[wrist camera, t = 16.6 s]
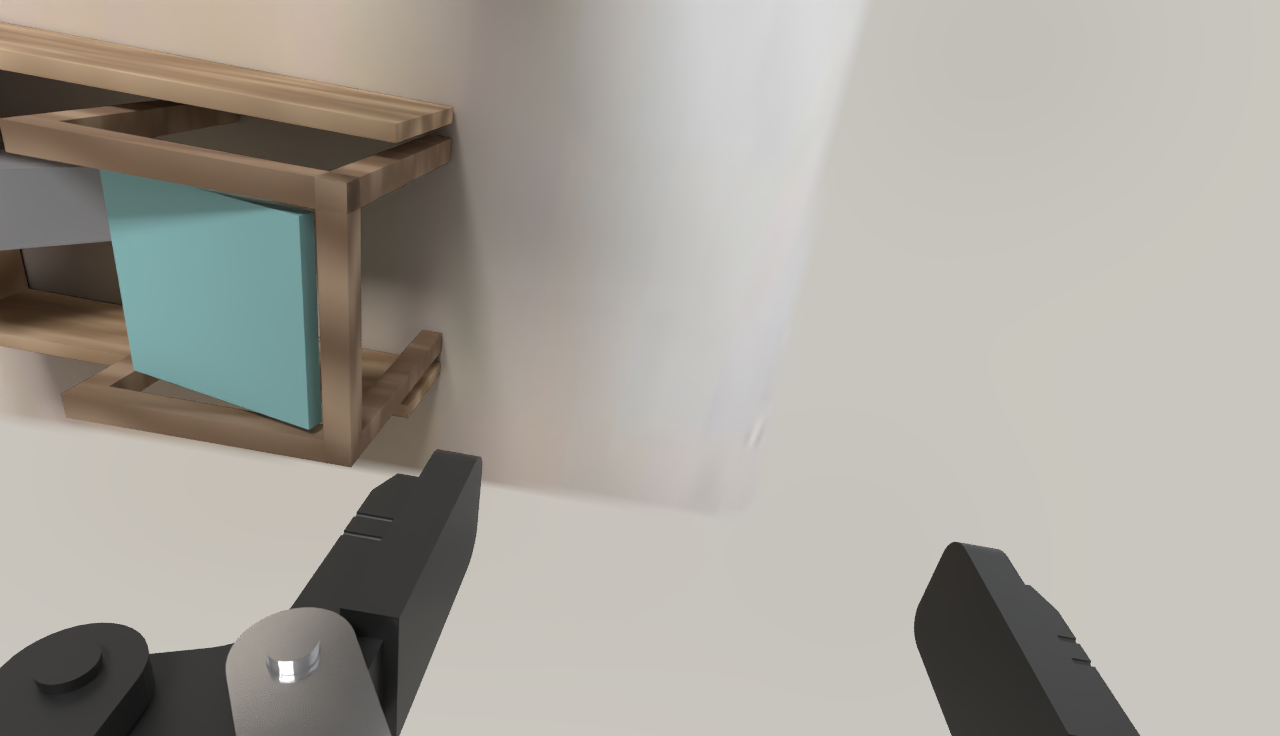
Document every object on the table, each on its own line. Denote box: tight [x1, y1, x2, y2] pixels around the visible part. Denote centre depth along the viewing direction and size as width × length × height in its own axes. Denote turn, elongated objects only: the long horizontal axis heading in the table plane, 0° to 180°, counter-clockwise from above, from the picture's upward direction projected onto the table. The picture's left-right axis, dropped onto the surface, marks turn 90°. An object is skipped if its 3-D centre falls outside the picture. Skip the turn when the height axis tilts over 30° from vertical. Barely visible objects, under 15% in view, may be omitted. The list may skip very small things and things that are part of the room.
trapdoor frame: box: [0, 22, 453, 467], centre depth 42 cm, size 20×33×16 cm, turn 80°
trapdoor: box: [99, 169, 322, 430], centre depth 37 cm, size 12×12×1 cm
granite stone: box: [0, 149, 112, 251], centre depth 43 cm, size 5×5×11 cm
